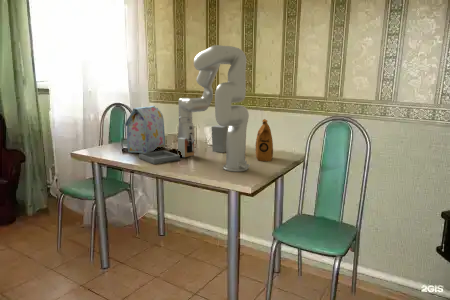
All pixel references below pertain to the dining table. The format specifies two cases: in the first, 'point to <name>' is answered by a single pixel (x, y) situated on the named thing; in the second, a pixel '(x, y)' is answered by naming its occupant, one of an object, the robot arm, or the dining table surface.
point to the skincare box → (219, 138)
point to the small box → (184, 147)
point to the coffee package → (264, 143)
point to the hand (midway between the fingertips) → (186, 151)
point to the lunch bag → (145, 130)
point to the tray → (159, 157)
